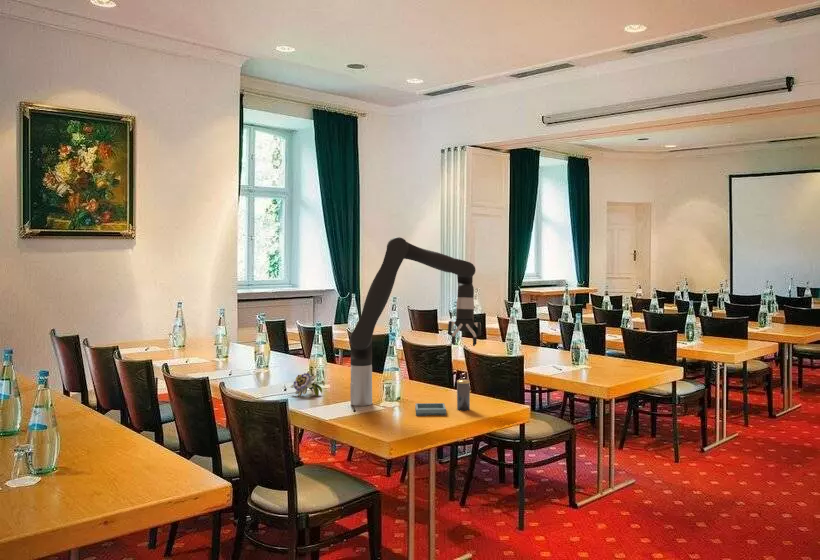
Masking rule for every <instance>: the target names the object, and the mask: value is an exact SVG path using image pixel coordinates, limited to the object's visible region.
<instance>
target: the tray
mask: <svg viewBox="0 0 820 560" xmlns="http://www.w3.org/2000/svg"><path fill="white" fill-rule="evenodd" d="M414 406H415V416H417V417H422V416H424V417H426V416H427V415H441V416H447V408H446V406H445V403H443V402H439V403H437V402H435V403H434V402H432V403H431V402H429V403H427V402H426V403H421V402H420V403H415V405H414Z"/></svg>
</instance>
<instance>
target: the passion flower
mask: <svg viewBox="0 0 820 560" xmlns="http://www.w3.org/2000/svg"><path fill="white" fill-rule="evenodd" d="M314 379H317V375H316V374H315V375H311V370H308V371H307V372H304V373H303V374H298V375H297V376H296V378H295V379H294V381H293V384H292V385H290V388H292V389H295V395H297V394H298V395H297V397H298V396H299V397H301V396H302V394H303V395H306V394H307V391H308V389H309V390H310V391H311V393H314V395H315V396H316V397H317V398H318V397H319V394H321V395H322V393H323V389H322V387H321V386H320V385H319V383H322V384H323V385H322V386H323V387H324V386H325V381H324V380H320V381H318V382H317V383H316V381H315V380H314ZM319 391H320V393H319Z"/></svg>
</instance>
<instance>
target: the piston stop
mask: <svg viewBox="0 0 820 560" xmlns="http://www.w3.org/2000/svg"><path fill="white" fill-rule="evenodd" d="M470 383H471V382H470V380H469V379H457V380H456V407H457V408H456V410H457V411H460V410H461V411H460V412H463V411H464V412H465V411H467V410H468V411H470V409H471V405H470V404H471V402H470V401H471V399H470V395H471V391H470V389H471V387H470V386H471V385H470Z"/></svg>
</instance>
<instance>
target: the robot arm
mask: <svg viewBox="0 0 820 560" xmlns="http://www.w3.org/2000/svg"><path fill="white" fill-rule="evenodd" d="M404 260H409V261H414V262H417V263H419V264H422V265H425V266H428V267H429V268H433V269H435V270H438V271H441V272H444V273H448V274H449V273H450V274H454V275H457V294H456V295H457V299H456V312H455V313H456V315H455V321H452V320H450V321H448V324H447V325H448V326H447V335H448V336H451V344H452V345H453V346H456V335H457V333H459V331H460V332H467V333H468V332H470V333H471V334H472V336H473V338H472V346H473V347H475V346H476V345H477V342H478V341H477V340H478V337H481V336H482V324H481V322H480V321H479V322H477V321H476V322H475V321H474V320H475V319H474V315H475V313H474V312H475V300H474V295H475V293H474V291H475V290H474V288H475V287H474V285H473V281H474V280H473V279H474V278H473V276H474V275H475V273H476V266H475V265H474V264H473V263H472V262H470V261H468V260H465V259H463V260H462V259H459V258H455V257H452V256H450V255H447V254H444V253H440V252H438V251H437V252H436V251H433V250H429V249H425V248H422V247H419V246H416V245H414V244H412V243H410V242H408V241H407V240H406V239H404V238H403V237H401V236H396V237H393V238H391V239H390V240H388V242H387V244H386V250H385V254H384V257H383V260H382V264H381V266H380V268H379V270H378V271H377V272H376V274H375V276H374V278H373V280H372V282H371V284H370V287H369V288H368V289H369V290H368V291H367V295H366V296H365V300H364V304H363V307H362V311H361V314H360V317H359V319H358V321H357V323H356V325H355V327H354V328H353V330H352V332H351V334H350V336H349V339H350V340H349V341H350V391H349V392H350V406H355V407H362V406H363V407H367V406H370V405H373V335H374V331H375V329H376V324H377V322H378V320H379V318H380V317H381V314H382V313H383V312H384V310H385V308H386V305H387V304H388V301H389V298H390V297H391V293H392V291H393V287H394V285H395V281H396V278H397V274H398V272H399V269H400V267H401V264H402V263H403V261H404ZM454 325H455V326H456V329H455V330H454V331H453V332H452V329H453V327H454ZM474 326H475V327H476V328H477V333H476V332H475V331H474V329H473V328H474Z"/></svg>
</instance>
